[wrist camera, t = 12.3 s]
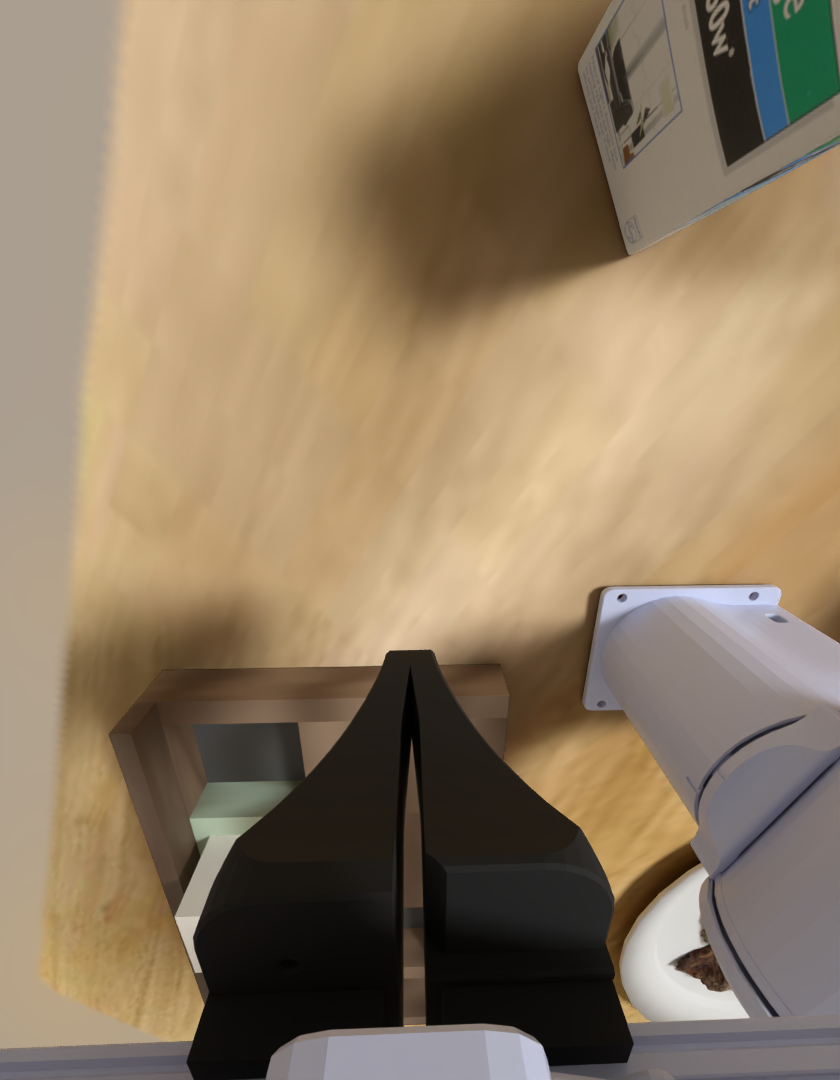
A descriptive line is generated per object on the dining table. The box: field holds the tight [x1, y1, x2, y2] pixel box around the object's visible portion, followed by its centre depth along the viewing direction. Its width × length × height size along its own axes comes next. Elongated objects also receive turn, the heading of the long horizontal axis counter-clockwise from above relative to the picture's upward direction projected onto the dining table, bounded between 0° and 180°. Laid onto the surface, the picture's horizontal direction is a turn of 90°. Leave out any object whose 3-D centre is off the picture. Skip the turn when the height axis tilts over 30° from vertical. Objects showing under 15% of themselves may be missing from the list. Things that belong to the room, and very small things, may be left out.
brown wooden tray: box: [109, 664, 510, 1025], centre depth 26 cm, size 19×27×4 cm
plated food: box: [619, 863, 750, 1022], centre depth 32 cm, size 30×30×3 cm
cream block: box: [175, 835, 241, 973], centre depth 24 cm, size 5×5×4 cm
